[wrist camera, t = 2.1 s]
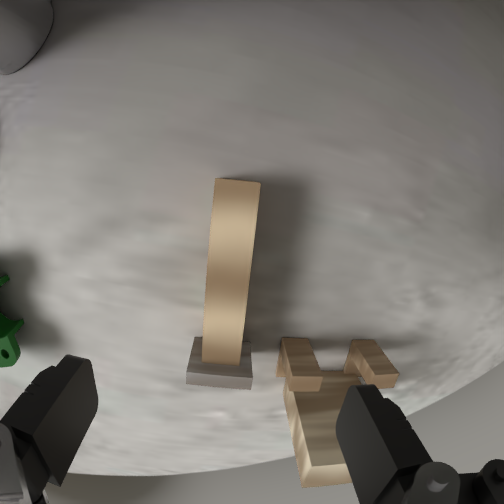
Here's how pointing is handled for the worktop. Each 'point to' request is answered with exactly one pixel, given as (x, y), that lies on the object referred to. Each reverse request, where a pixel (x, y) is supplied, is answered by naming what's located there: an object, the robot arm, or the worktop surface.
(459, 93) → the worktop surface
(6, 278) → the clamp
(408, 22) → the worktop surface
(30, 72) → the worktop surface
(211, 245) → the light wooden bar
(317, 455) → the post block
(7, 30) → the robot arm
